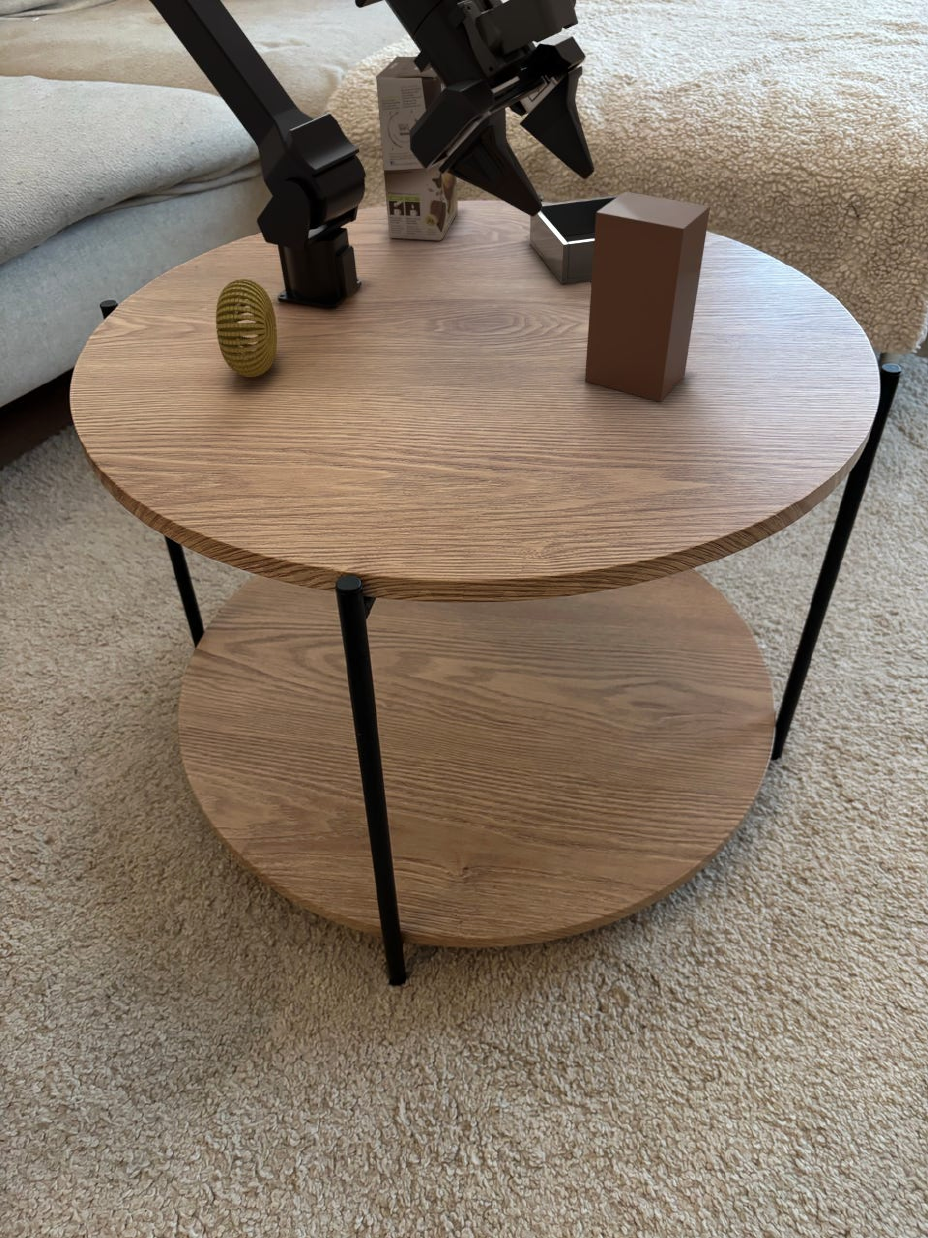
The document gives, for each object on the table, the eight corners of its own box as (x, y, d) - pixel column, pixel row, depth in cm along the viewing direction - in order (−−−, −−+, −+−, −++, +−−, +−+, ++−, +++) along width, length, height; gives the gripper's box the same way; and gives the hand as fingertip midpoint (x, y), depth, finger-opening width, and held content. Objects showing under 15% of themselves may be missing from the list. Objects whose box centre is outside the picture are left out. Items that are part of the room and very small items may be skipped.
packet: (584, 381, 77) (595, 211, 67) (610, 356, 80) (625, 190, 70) (660, 402, 74) (683, 228, 65) (684, 375, 77) (710, 206, 68)
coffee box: (443, 241, 100) (435, 76, 89) (387, 239, 101) (372, 75, 90) (460, 211, 106) (454, 53, 95) (407, 209, 108) (395, 52, 96)
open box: (561, 284, 91) (563, 244, 88) (529, 243, 99) (530, 205, 96) (665, 270, 93) (670, 230, 90) (625, 230, 101) (629, 193, 98)
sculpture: (243, 350, 83) (224, 263, 78) (286, 349, 83) (270, 262, 77) (224, 394, 77) (202, 304, 72) (270, 393, 77) (252, 303, 72)
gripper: (439, -55, 56) (585, 163, 60) (571, -94, 67) (687, 92, 71) (349, 73, 65) (482, 257, 68) (480, 19, 76) (588, 180, 80)
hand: (565, 193), depth 72 cm, fingers open, 9 cm apart
